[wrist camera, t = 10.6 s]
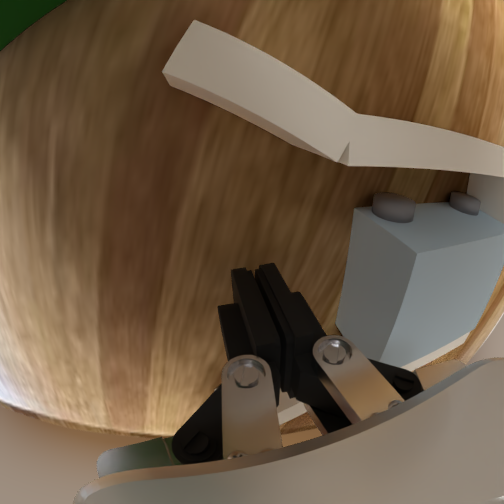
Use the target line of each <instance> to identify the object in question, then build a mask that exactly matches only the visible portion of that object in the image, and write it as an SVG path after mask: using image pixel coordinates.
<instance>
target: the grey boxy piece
mask: <svg viewBox="0 0 504 504" xmlns="http://www.w3.org/2000/svg"><path fill="white" fill-rule="evenodd" d="M480 205H481V201H480V200H478V199H477V198H475V197H473V196H471V195H468V194H465V193H462V192H457V191H453V192H451V197H450V202H441V203H420V204H416V203H415V202H414V201H413V200H412V199H410V198H408V197H405V196H402V195H399V194H395V193H387V192H380V193H376V194H374V198H373V206H371V207H358V208H354V213H353V222H352V229H351V237H350V244H349V251H348V257H347V263H346V269H345V275H344V281H343V287H342V292H341V297H340V302H339V307H338V312H337V317H336V322H335V324H336V326H337V327H338V329H339V330H340V332H341V333H342V335H343V337H345V338H347V339H349V340H350V341H351V342H352V343H354V345H355V346H356V347H357V348H358V349H359V350H360V351H361V352H362V353H363V355H364V356H365V357H366V358H368V359H372V360H375V361H378V362H382V363H385V364H389V365H392V366H396V367H399V368H400V367H402V366H405V365H407V364H409V363H411V362H413V361H415V360H417V359H420V358H422V357H424V356H426V355H428V354H430V353H432V352H434V351H436V350H438V349H439V348H441V347H443V346H445V345H447V344H449V343H451V342H452V341H454V340H456V339H458V338H459V337H461V336H463V335H465V334H466V333H468V332H470V331H471V330H473V329H475V327H476V325H477V323H478V321H479V320H480V318H481V316H482V314H483V312H484V310H485V308H486V305H487V303H488V301H489V299H490V297H491V295H492V292H493V290H494V288H495V286H496V283H497V281H498V278H499V276H500V273H501V271H502V268H503V266H504V224H503V223H501V222H499V221H498V220H496V219H494V218H493V217H491V216H489V215H488V214H486V213H484V212H482V211H481V210H479V209H480Z"/></svg>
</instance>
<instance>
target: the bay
mask: <svg viewBox="0 0 504 504" xmlns="http://www.w3.org/2000/svg"><path fill="white" fill-rule="evenodd" d="M162 73H163V74H164V76H165V78H166V79H167V81H168V83H169V85H170V86H172V87H174V88H177V89H179V90H182V91H184V92H187V93H189V94H191V95H194V96H196V97H198V98H201V99H203V100H205V101H207V102H209V103H212V104H214V105H216V106H218V107H220V108H222V109H225V110H227V111H229V112H231V113H233V114H235V115H237V116H239V117H241V118H243V119H245V120H247V121H249V122H251V123H253V124H255V125H257V126H258V127H260V128H262V129H264V130H266V131H268V132H270V133H272V134H273V135H275V136H277V137H279V138H281V139H282V140H284V141H286V142H288V143H289V144H291V145H293V146H296V147H299V148H302V149H304V150H307V151H310V152H312V153H315V154H317V155H320V156H322V157H325V158H327V159H330V160H332V161H335V162H340V163H342V164H344V165H347V166H376V167H404V168H422V169H436V170H448V171H458V172H467V173H470V176H469V183H468V188H467V194H468V195H471V196H473V197H475V198H477V199H478V200H480V201H481V205H480V209H479V210H481V211H482V212H484V213H486V214H488V215H489V216H491V217H493V218H494V219H496V220H498V221H499V222H501V223H503V224H504V147H502V146H499V145H496V144H493V143H490V142H487V141H484V140H481V139H478V138H475V137H471V136H468V135H464V134H461V133H457V132H453V131H450V130H446V129H441V128H437V127H433V126H428V125H424V124H419V123H414V122H409V121H403V120H398V119H392V118H385V117H378V116H371V115H363V114H357V113H356V112H354V111H353V110H352V109H350V108H349V107H348V106H347V105H345V104H344V103H343V102H341V101H340V100H339V99H337V98H336V97H334V96H333V95H332V94H330V93H329V92H327V91H326V90H325V89H323V88H322V87H320V86H319V85H317V84H316V83H314V82H313V81H311V80H310V79H308V78H307V77H305V76H304V75H302V74H301V73H299V72H297V71H296V70H294V69H293V68H291V67H289V66H288V65H286V64H284V63H283V62H281V61H279V60H277V59H276V58H274V57H272V56H270V55H269V54H267V53H265V52H263V51H261V50H259V49H257V48H256V47H254V46H252V45H250V44H248V43H246V42H244V41H242V40H240V39H238V38H236V37H233V36H231V35H229V34H227V33H225V32H223V31H220V30H218V29H216V28H213V27H211V26H209V25H206V24H204V23H201V22H199V21H196V20H194V21H193V22H192V24H191V25H190V26H189V28H188V29H187V31H186V33H185V34H184V36H183V37H182V39H181V40H180V42H179V43H178V45H177V47H176V48H175V50H174V52H173V53H172V55H171V57H170V58H169V60H168V62H167V64H166V65H165V67H164V69H163V71H162ZM469 333H470V332H468V333H466V334H465V335H463V336H461V337H459V338H458V339H456V340H454V341H452V342H451V343H449V344H447V345H445V346H443V347H441V348H439V349H438V350H436V351H434V352H432V353H430V354H428V355H426V356H424V357H422V358H420V359H417V360H415V361H413V362H411V363H409V364H407V365H405V366H402V367H400V368H403V369H406V370H409V371H413V370H415V369H417V368H419V367H421V366H423V365H425V364H427V363H429V362H431V361H433V360H435V359H437V358H438V357H440V356H442V355H444V354H446V353H447V352H449V351H451V350H453V349H454V348H456V347H458V346H460V345H461V344H463V343H464V342H465V340H466V338H467V336H468V335H469ZM216 389H217V388H215V389H214V391H215V390H216ZM305 412H307V410H306V409H305V407H304V403H302V402H300V401H297V400H296V398H291V399H290V398H289V396H288V393H287V392H282V391H281V389H280V396H279V405H278V407H277V413H278V420H279V425H281V424H283V423H285V422H287V421H289V420H291V419H294V418H296V417H298V416H300V415H302V414H303V413H305Z"/></svg>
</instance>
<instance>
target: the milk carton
mask: <svg viewBox="0 0 504 504" xmlns="http://www.w3.org/2000/svg"><path fill="white" fill-rule="evenodd" d="M65 1H67V0H0V51H1V50H2V49H3V48H4V47H5V46H6V45H7V44H9V43H10V42H11V41H12V40H13V39H14V38H16V37H17V36H18V35H19V34H20V33H22V32H23V31H24V30H25V29H27V28H28V27H29V26H30V25H32V24H33V23H34V22H36V21H37V20H38V19H40V18H41V17H43V16H44V15H45V14H47V13H48V12H50V11H51V10H53V9H54V8H56V7H57V6H59V5H60V4H62V3H64V2H65Z"/></svg>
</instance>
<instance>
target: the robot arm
mask: <svg viewBox="0 0 504 504" xmlns="http://www.w3.org/2000/svg"><path fill="white" fill-rule="evenodd" d="M231 277H232V287H233V297H234V303H233V304H227V305H221V306H218V313H219V319H220V325H221V330H222V336H223V341H224V345H225V350H226V354H227V359H228V362H227V363H226V364H225V366H224V367H223V370H222V383H221V385H220V386H219V387H218V388H217V389H216V390H215V391H214V392H213V393H212V395H211V396H210V397H209V398H208V399H207V400H206V401H205V402H204V403H203V404H202V406H201V407H200V408H199V409H198V410H197V411H196V412H195V413H194V414H193V415H192V416H191V417H190V418H189V420H188V421H187V422H186V423H185V424H184V425H183V426H182V427H181V428H180V429H179V430H178V431H177V432H176V434H175V435H174V436H172V437H169V438H165V439H163V438H162V437H160V438H156V439H152V440H149V441H145V442H141V443H137V444H133V445H128V446H124V447H120V448H115V449H110V450H107V451H105V452H103V453H102V454H101V455H100V456H99V458H98V461H97V471H98V475H99V479H96V480H94V481H92V482H90V483H88V484H86V485H85V486H83V487H82V488H81V489H80V490H79V491H78V492H77V494H76V496H75V498H74V501H73V504H504V358H490V359H484V360H480V361H477V362H475V363H472V364H470V365H468V366H466V365H465V364H464V363H463V362H461V361H459V360H449V361H445V362H441V363H438V364H434V365H430V366H425V367H421V368H417V369H415V370H414V372H411V371H409V370H406V369H403V368H399V367H396V366H392V365H389V364H385V363H382V362H378V361H375V360H372V359H368V358H366V357H365V356H364V355H363V353H362V352H361V351H360V350H359V349H358V348H357V347H356V346H355V345H354V343H352V342H351V341H350V340H349V339H347V338H345V337H343V336H338V335H329V336H327V335H326V334H325V332H324V330H323V329H322V327H321V325H320V324H319V322H318V320H317V319H316V317H315V315H314V314H313V312H312V311H311V309H310V307H309V306H308V304H307V302H306V301H305V299H304V297H303V296H302V294H301V293H300V292H293V293H291V292H290V290H289V288H288V286H287V285H286V283H285V281H284V279H283V278H282V276H281V274H280V272H279V271H278V269H277V267H276V265H275V264H274V263H270V264H264V265H260V266H259V269H256V270H255V278H254V275H253V273H252V271H251V270H250V271H247V270H246V268H239V269H232V270H231ZM280 389H281V391H282V392H287V393H288V396H289V398H290V399H291V398H296V400H297V401H300V402H302V403H304V407H305V409H306V410H307V412H308V414H309V415H310V417H311V418H312V420H313V421H314V423H315V424H316V426H317V427H318V429H319V430H320V432H321V434H322V435H323V436H320V437H317V438H314V439H310V440H308V441H304V442H301V443H297V444H294V445H290V446H287V447H283V446H282V439H281V433H280V426H279V420H278V413H277V407H278V405H279V396H280Z"/></svg>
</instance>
